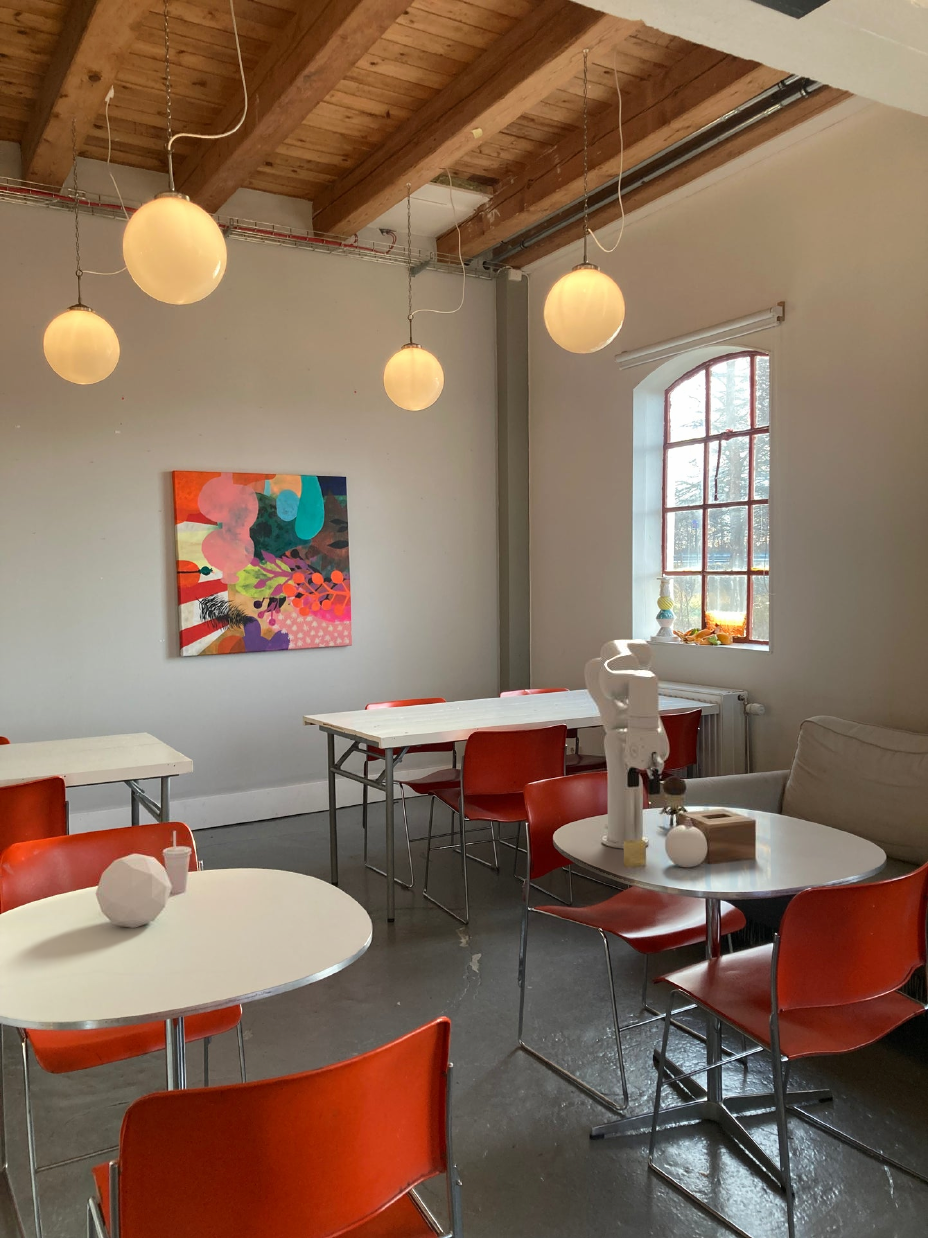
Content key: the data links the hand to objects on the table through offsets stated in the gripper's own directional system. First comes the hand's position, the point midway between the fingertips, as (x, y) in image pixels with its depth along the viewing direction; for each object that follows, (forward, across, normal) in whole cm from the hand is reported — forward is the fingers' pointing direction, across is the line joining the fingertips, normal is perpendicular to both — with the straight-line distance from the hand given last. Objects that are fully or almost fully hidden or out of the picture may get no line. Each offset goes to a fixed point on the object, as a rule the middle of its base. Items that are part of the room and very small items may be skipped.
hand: (643, 790), depth 230 cm
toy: (+19, -32, +30) cm, 48 cm away
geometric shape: (+19, -2, -121) cm, 122 cm away
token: (+19, -1, -2) cm, 19 cm away
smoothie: (+19, -21, -112) cm, 115 cm away
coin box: (+19, -2, +23) cm, 30 cm away
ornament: (+19, +5, +9) cm, 22 cm away
